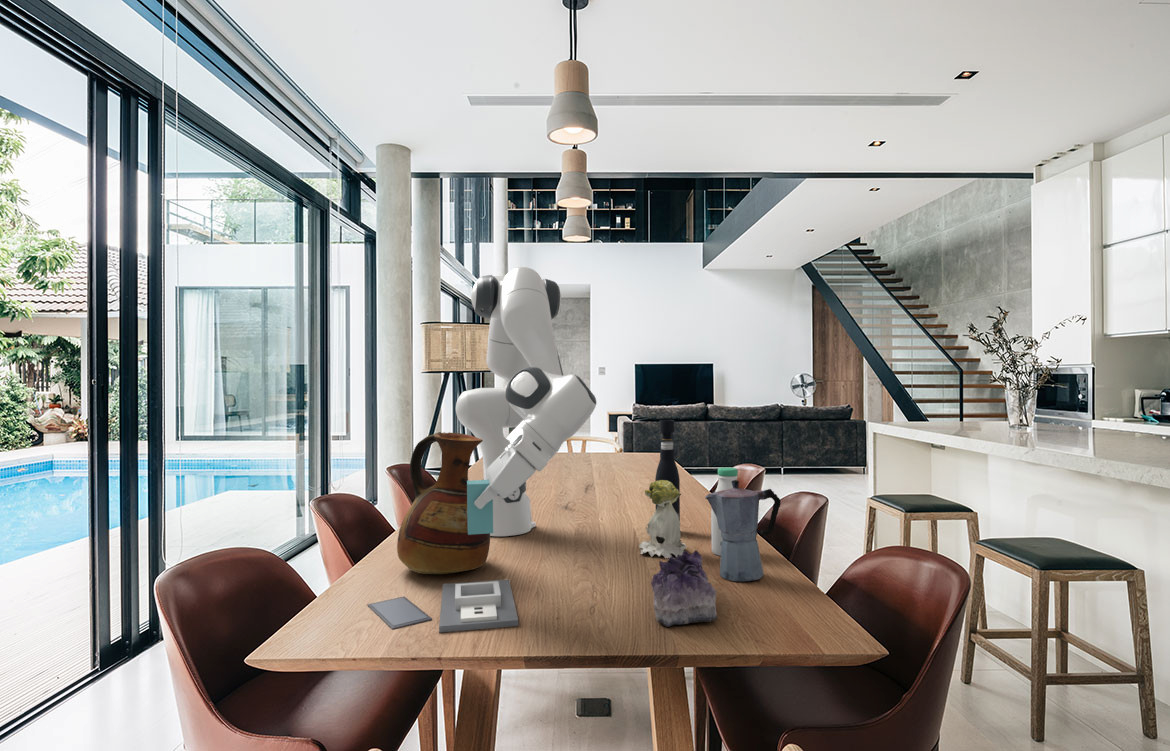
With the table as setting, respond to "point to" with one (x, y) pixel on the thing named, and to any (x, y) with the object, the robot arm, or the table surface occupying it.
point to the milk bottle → (724, 483)
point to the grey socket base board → (477, 606)
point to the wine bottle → (668, 461)
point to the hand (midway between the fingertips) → (476, 502)
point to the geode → (683, 591)
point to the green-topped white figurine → (663, 522)
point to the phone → (399, 612)
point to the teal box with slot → (478, 518)
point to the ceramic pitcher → (442, 512)
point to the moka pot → (741, 530)
